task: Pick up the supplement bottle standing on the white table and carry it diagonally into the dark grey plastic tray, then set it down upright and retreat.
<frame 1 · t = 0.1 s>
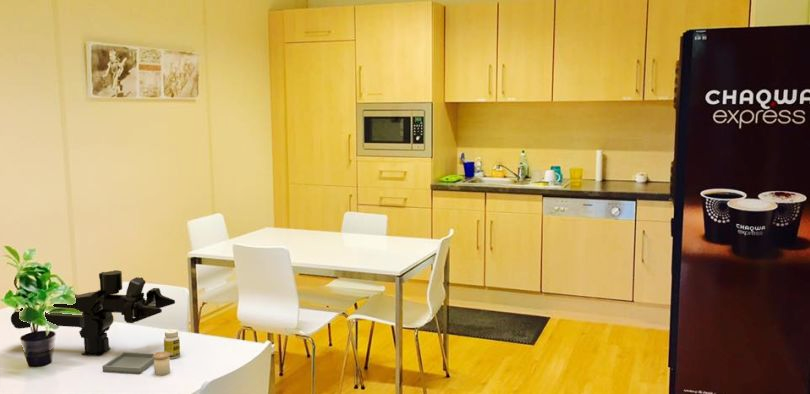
hand: (168, 306, 223), 17 cm above the table, tool horizontal, fingers open, 9 cm apart
sugar jar: (162, 372, 213), on the table
supplement bottle: (172, 357, 226), on the table
tray: (131, 365, 218), on the table
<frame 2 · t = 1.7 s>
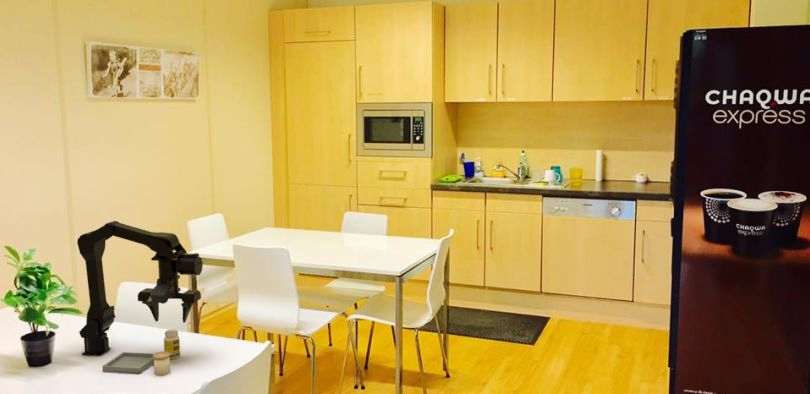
hand: (170, 321, 224), 11 cm above the table, tool pointing down, fingers open, 9 cm apart
nothing on the table moved.
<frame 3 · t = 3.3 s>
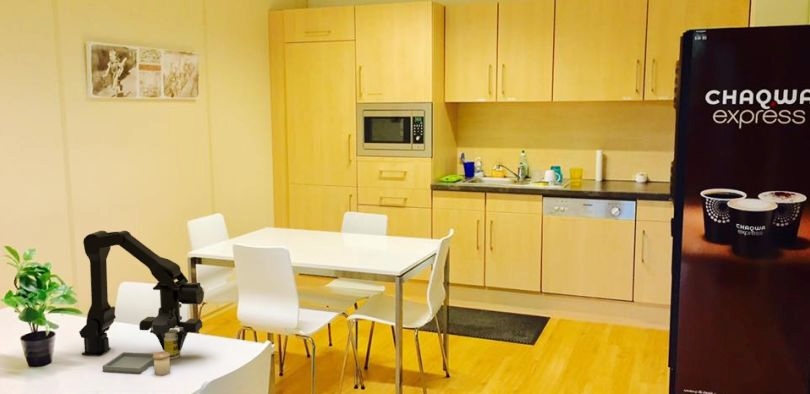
hand: (172, 350, 225), 2 cm above the table, tool pointing down, fingers closed on supplement bottle, 5 cm apart
supplement bottle: (172, 357, 226), on the table, touching gripper
everything else where it was.
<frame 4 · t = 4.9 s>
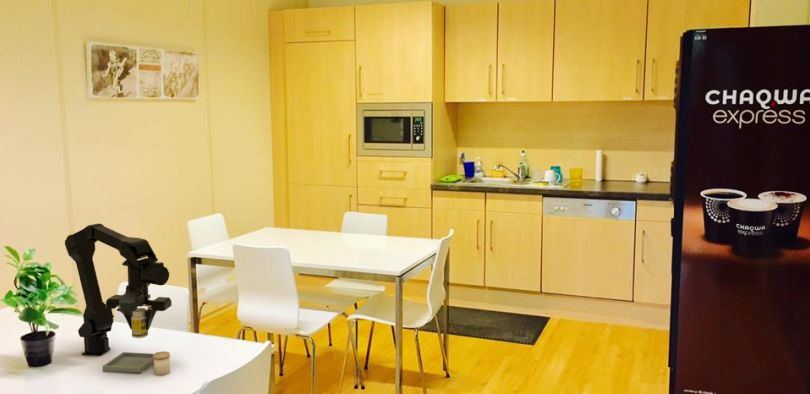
hand: (139, 329, 219), 11 cm above the table, tool pointing down, fingers closed on supplement bottle, 5 cm apart
supplement bottle: (140, 336, 219), point 9 cm above the table, touching gripper
everything else where it was.
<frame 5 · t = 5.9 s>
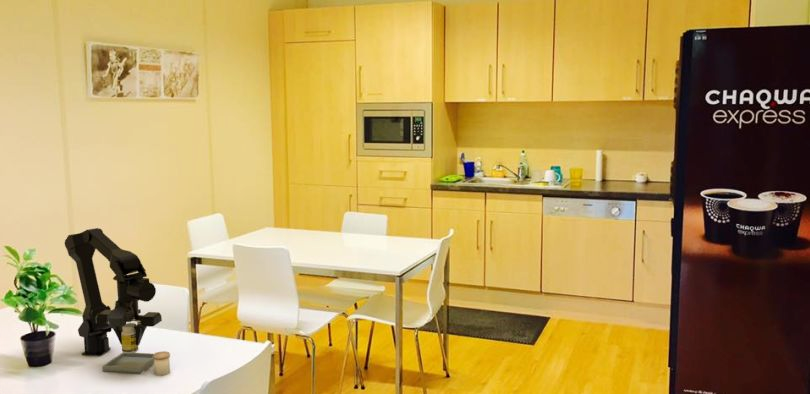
hand: (130, 344, 217), 7 cm above the table, tool pointing down, fingers closed on supplement bottle, 5 cm apart
supplement bottle: (130, 351, 217), point 4 cm above the table, touching gripper
everything else where it was.
when the fingers open (4 cm above the table, at t = 6.7 s): supplement bottle drops 1 cm, resting on tray.
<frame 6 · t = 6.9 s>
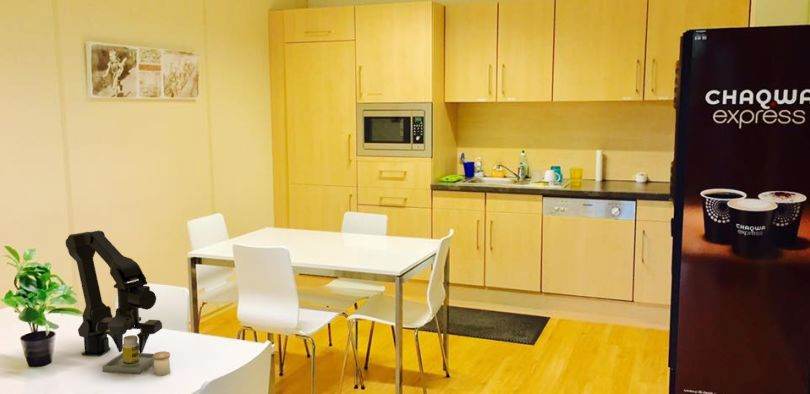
hand: (130, 352, 217), 4 cm above the table, tool pointing down, fingers open, 6 cm apart
supplement bottle: (131, 364, 218), resting on tray
everything else where it was.
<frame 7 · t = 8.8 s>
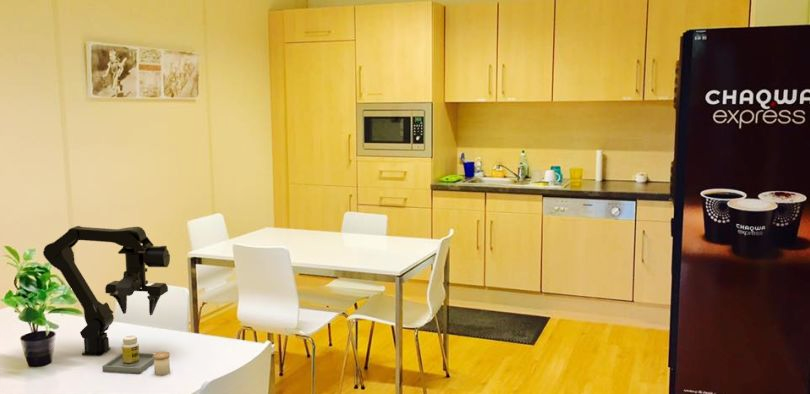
hand: (137, 314, 227), 13 cm above the table, tool pointing down, fingers open, 9 cm apart
nothing on the table moved.
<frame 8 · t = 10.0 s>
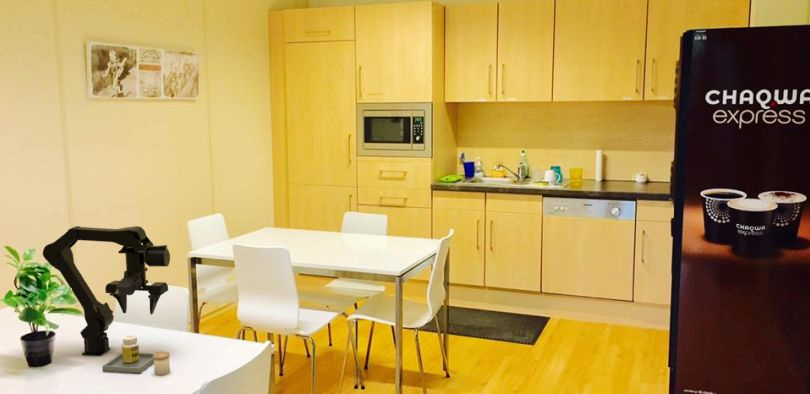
hand: (138, 313, 227), 13 cm above the table, tool pointing down, fingers open, 9 cm apart
nothing on the table moved.
at the end: supplement bottle inside the target area on the tray (0.1 cm from its centre), point 0.4 cm above the tray's base; supplement bottle tilted 0°; the gripper is holding nothing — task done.
